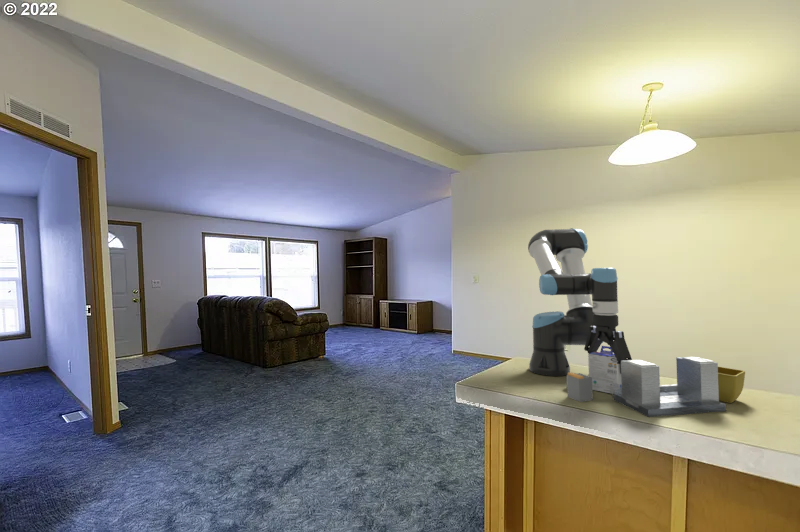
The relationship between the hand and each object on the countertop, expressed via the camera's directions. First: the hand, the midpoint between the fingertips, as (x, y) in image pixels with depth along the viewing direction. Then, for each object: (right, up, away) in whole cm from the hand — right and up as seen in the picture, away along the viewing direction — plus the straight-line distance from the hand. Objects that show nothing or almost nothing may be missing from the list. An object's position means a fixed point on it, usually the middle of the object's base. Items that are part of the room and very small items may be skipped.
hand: (607, 378), depth 124 cm
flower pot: (+30, -4, -10) cm, 32 cm away
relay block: (-12, -4, -6) cm, 14 cm away
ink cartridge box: (0, -5, 0) cm, 5 cm away
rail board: (+10, -4, -14) cm, 17 cm away
